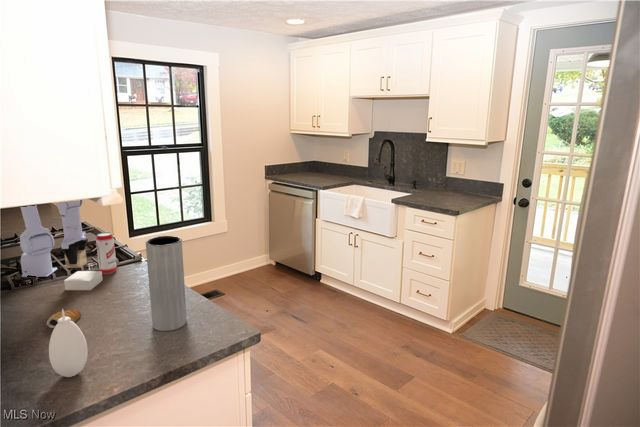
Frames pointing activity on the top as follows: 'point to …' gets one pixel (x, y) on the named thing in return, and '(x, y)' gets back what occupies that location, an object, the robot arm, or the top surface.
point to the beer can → (106, 253)
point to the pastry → (71, 313)
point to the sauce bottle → (67, 348)
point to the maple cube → (80, 260)
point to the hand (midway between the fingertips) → (76, 261)
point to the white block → (83, 280)
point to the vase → (166, 282)
